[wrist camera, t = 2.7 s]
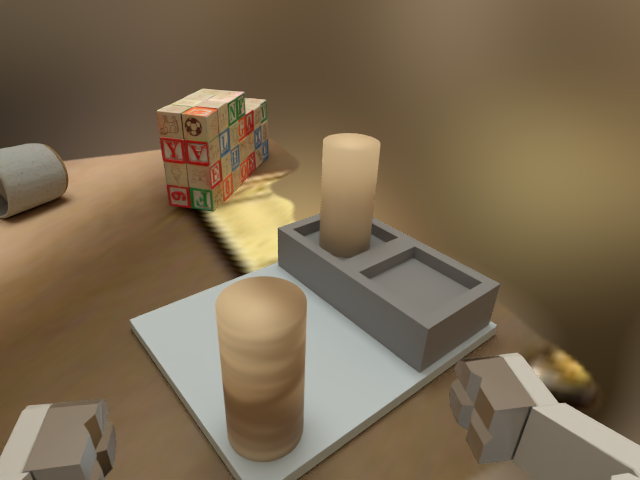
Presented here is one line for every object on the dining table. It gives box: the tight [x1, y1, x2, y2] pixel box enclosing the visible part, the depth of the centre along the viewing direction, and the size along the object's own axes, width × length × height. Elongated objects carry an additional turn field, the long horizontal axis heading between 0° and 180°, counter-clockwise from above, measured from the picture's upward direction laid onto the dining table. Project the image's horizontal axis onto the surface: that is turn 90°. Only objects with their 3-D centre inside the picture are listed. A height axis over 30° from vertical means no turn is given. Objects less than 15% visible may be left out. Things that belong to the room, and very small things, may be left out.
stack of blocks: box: [157, 89, 268, 211], centre depth 64 cm, size 21×6×12 cm, turn 167°
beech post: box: [215, 276, 307, 462], centre depth 27 cm, size 5×5×10 cm
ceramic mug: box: [0, 144, 68, 218], centre depth 56 cm, size 11×8×8 cm
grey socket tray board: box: [130, 133, 500, 480], centre depth 36 cm, size 24×19×14 cm
